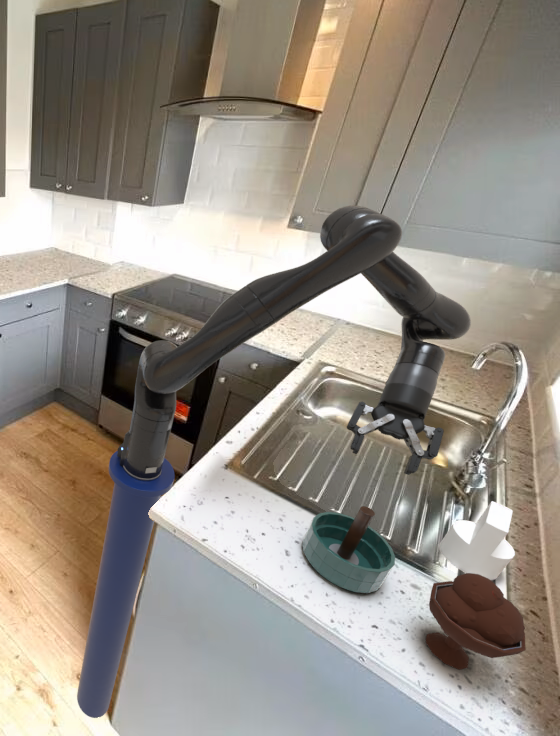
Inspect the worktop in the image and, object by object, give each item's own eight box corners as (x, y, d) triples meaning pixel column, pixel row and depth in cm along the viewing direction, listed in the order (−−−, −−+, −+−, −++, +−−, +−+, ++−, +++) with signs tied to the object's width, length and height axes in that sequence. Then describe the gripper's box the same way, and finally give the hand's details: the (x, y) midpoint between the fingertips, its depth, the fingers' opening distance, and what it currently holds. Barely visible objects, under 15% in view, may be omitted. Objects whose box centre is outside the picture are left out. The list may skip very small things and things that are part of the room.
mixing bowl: (294, 565, 81) (306, 541, 78) (308, 524, 91) (318, 501, 88) (377, 610, 74) (393, 586, 71) (382, 560, 84) (396, 537, 81)
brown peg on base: (324, 560, 82) (349, 511, 76) (328, 544, 85) (353, 496, 79) (354, 576, 79) (383, 526, 73) (357, 559, 83) (385, 510, 77)
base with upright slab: (443, 533, 91) (472, 491, 85) (500, 563, 85) (535, 519, 79) (434, 556, 85) (464, 512, 80) (494, 589, 79) (531, 544, 74)
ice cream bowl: (401, 650, 68) (445, 589, 62) (411, 604, 76) (452, 545, 69) (490, 707, 62) (550, 646, 55) (491, 651, 69) (545, 591, 62)
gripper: (370, 371, 87) (341, 442, 84) (461, 398, 79) (433, 477, 76) (363, 384, 93) (335, 450, 90) (446, 410, 85) (420, 484, 82)
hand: (380, 462), depth 83 cm, fingers open, 8 cm apart
